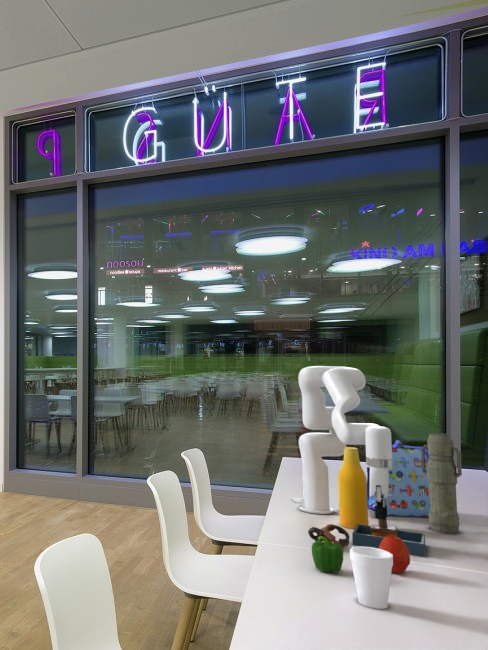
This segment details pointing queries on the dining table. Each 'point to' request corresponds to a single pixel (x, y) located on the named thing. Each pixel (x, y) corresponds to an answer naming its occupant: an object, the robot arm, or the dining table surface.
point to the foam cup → (372, 575)
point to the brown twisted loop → (329, 534)
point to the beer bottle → (352, 491)
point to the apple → (396, 553)
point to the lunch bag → (405, 483)
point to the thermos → (442, 482)
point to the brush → (383, 529)
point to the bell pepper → (327, 555)
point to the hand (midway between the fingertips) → (381, 517)
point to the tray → (364, 537)
